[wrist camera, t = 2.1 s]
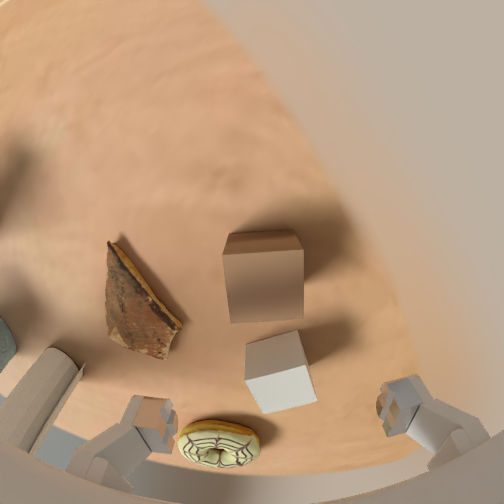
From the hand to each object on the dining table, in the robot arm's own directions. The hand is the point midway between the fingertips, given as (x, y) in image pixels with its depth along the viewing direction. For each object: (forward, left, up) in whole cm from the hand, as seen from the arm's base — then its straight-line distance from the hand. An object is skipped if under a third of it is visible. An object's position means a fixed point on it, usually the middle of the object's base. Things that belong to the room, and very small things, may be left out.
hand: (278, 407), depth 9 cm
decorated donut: (+25, -7, -15) cm, 29 cm away
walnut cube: (0, 0, -14) cm, 14 cm away
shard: (+4, -13, -15) cm, 20 cm away
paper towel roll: (+13, -26, -14) cm, 32 cm away
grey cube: (+10, +1, -14) cm, 17 cm away
